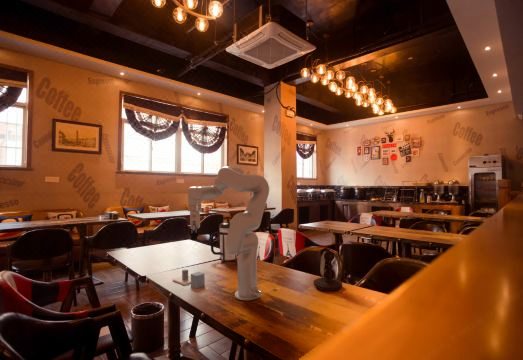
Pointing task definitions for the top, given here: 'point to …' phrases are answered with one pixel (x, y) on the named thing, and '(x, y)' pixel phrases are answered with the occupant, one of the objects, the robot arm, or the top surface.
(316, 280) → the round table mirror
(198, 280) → the gray rectangular block
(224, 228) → the coffee press
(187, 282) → the post stand
